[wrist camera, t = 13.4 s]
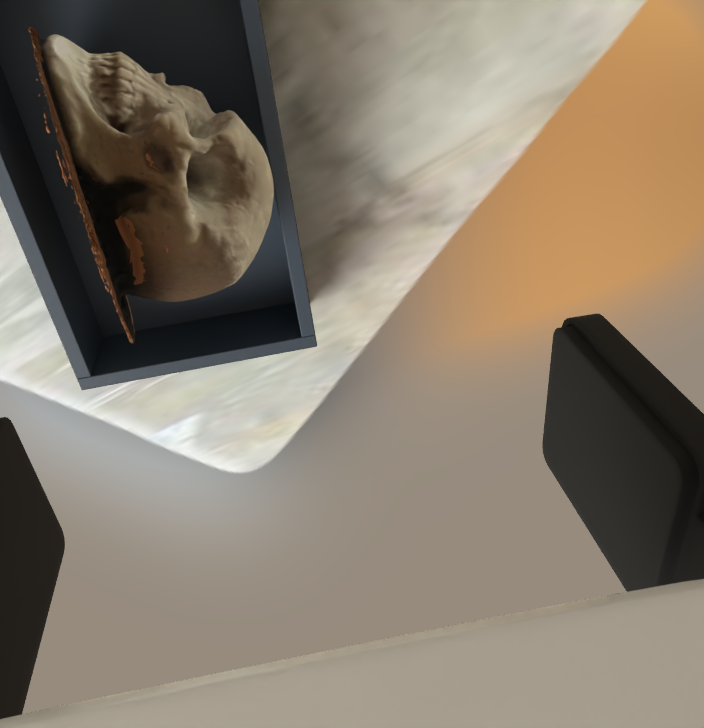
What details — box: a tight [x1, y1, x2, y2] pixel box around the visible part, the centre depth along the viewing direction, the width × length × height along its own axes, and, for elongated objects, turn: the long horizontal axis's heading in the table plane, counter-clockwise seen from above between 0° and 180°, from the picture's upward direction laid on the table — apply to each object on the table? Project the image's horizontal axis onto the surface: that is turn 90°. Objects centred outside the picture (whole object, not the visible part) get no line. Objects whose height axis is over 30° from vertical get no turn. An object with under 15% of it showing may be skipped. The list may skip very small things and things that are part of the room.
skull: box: [28, 27, 274, 344], centre depth 26 cm, size 12×10×10 cm
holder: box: [0, 0, 317, 390], centre depth 30 cm, size 18×12×5 cm, turn 7°
